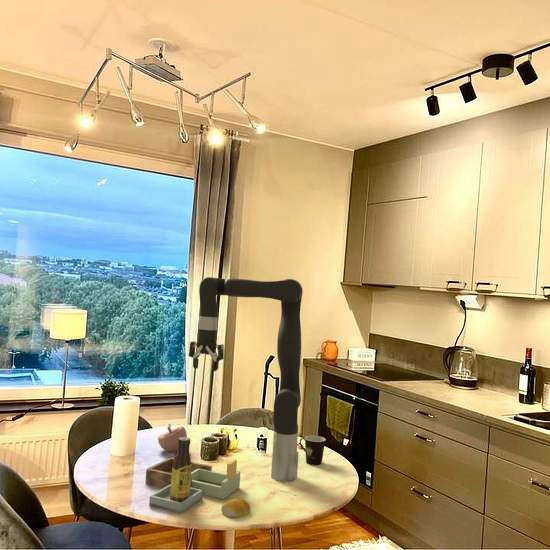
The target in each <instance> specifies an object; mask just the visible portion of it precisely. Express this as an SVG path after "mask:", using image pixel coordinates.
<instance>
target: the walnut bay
mask: <svg viewBox="0 0 550 550" xmlns="http://www.w3.org/2000/svg"><path fill="white" fill-rule="evenodd" d="M173 460H174V457H169V458H166V459H165V460H162V461H160V462H158V463H156V464H154V465H152V466H150V467H148V468H146V469H145V472H146V473H145V484H146V483H147V484H146V485H150V486H156V487H158V486H159V487H160V488H162V489H163V488H165V487H166V486H168V485H170V484H171V478H172V467H173ZM191 463H192V468H191V472H193V471H194V470H196V469H198V468H200V469H205V470H209V471H213V467H212V465H209V464H205V463H204V464H203V463H198V462H194V461H191ZM169 472H170V473H169ZM159 487H158V488H159ZM190 487H192V478H191V480H190Z"/></svg>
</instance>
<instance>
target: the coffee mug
mask: <svg viewBox="0 0 550 550" xmlns="http://www.w3.org/2000/svg"><path fill="white" fill-rule="evenodd" d="M302 440H304V445H305V447H304V446H303V444H302ZM326 441H327V440H326V438H325V437H323V436H319V435H307V436H304V437H301V438H300V440H299V446H300V447H301V449H302V450H303V451H304V453H305V463H306V464H307V465H309V466H314V465H315V466H316V467H317V466H321V465H322V462H323V457H324V452H325V451H324V450H325V445H326Z"/></svg>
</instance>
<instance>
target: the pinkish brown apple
mask: <svg viewBox="0 0 550 550" xmlns="http://www.w3.org/2000/svg"><path fill="white" fill-rule="evenodd" d="M171 426H172V425H171V423H168V426H167V428H166V429H167V431H166V432H164V433H163V434H160V435H158V436H157V442H158V445H159V446H160V448H161V449H162V450H164V451H166V452H169V453H175V452H178V438H180V437H188V435H187V430H186V428H185V427H184V425H181V426H179V427H176V428H173V429H172V428H171Z"/></svg>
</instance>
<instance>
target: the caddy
mask: <svg viewBox="0 0 550 550" xmlns="http://www.w3.org/2000/svg"><path fill="white" fill-rule="evenodd" d="M237 464H238V460H237V459H233V460H231V461H229V462H228V463H226V473H222V472H218V471H215V470H212V471H209V470H205V469H200V468H198V469H196V470H194V471H193V472H191V478H192V487H191V488H196V489H200V490H203V495H205V496H209V497H214V498H218V499H221V500H224V499H226V498H227V497H228V496H230V495H232V493H234V492H235V491H236V490H238V489H239V488H240V486H241V485H240V484H241V470H240V471H239V470H237V466H238V465H237ZM199 480H202V481H203V482H202V481H199ZM204 481H205V482H204ZM206 481H207V482H211V483H207V482H206ZM212 483H214V484H212ZM217 484H219V485H217Z"/></svg>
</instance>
